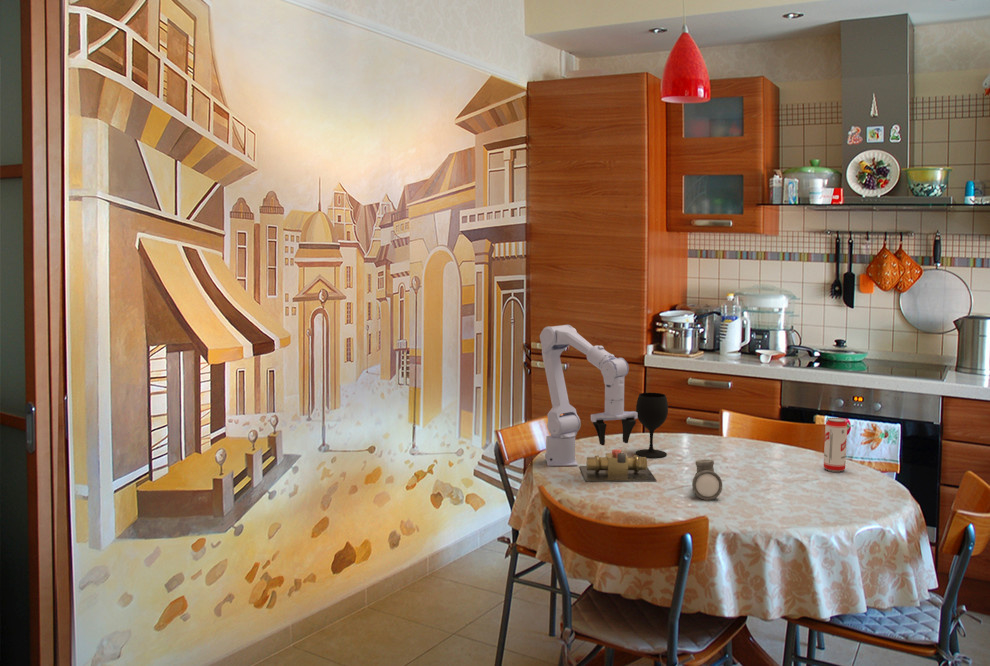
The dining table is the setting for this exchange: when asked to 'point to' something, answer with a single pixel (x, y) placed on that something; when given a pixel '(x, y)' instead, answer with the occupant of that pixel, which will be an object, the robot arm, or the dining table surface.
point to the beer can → (835, 444)
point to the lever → (619, 456)
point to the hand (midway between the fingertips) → (613, 443)
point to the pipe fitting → (706, 480)
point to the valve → (616, 469)
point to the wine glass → (651, 419)
